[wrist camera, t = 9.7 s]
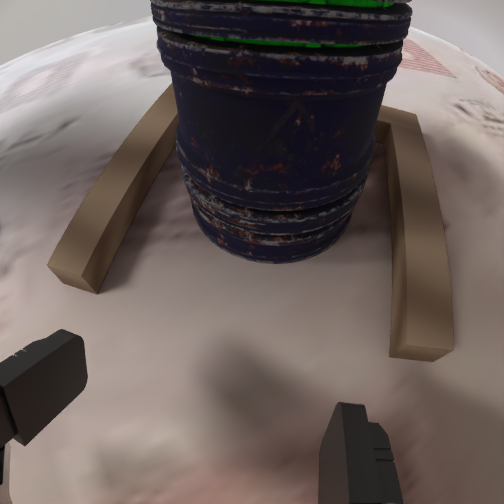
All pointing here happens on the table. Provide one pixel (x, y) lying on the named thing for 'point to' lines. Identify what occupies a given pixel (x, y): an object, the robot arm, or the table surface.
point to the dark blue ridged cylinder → (278, 114)
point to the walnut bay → (401, 208)
